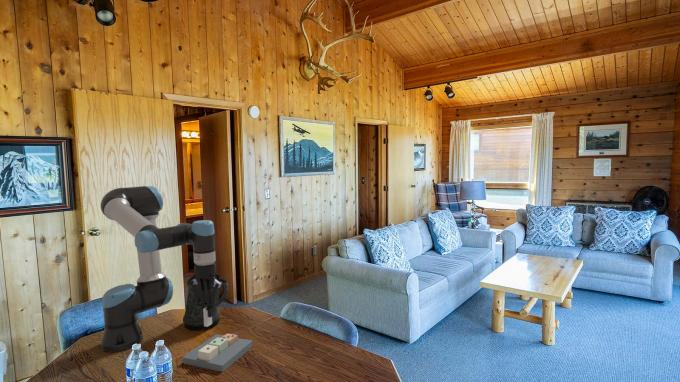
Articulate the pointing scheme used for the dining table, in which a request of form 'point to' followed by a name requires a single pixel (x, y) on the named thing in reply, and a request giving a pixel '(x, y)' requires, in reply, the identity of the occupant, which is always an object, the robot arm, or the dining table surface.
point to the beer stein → (194, 313)
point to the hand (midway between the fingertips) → (208, 324)
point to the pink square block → (230, 338)
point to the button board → (219, 355)
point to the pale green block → (220, 344)
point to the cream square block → (208, 353)
